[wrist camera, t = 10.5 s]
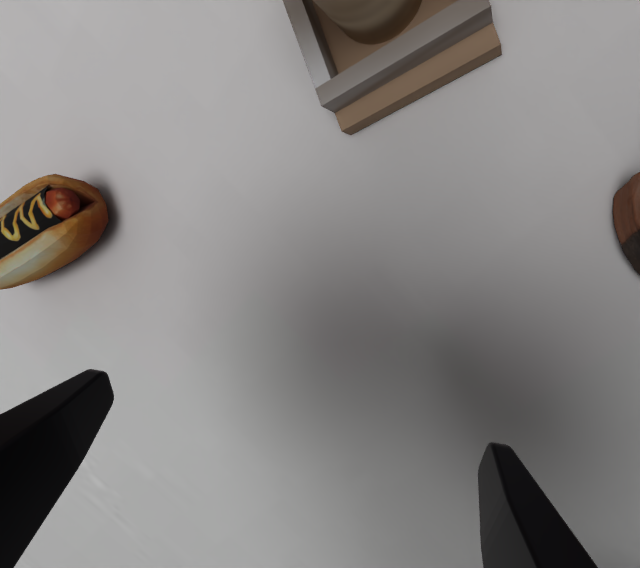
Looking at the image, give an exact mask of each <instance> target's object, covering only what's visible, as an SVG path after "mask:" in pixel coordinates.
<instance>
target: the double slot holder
mask: <svg viewBox="0 0 640 568" xmlns="http://www.w3.org/2000/svg"><path fill="white" fill-rule="evenodd" d="M283 2H284V5H285V8H286V11H287V13H288V16H289V19H290V21H291V24H292V27H293V30H294V32H295V35H296V38H297V41H298V43H299V46H300V49H301V51H302V54H303V57H304V60H305V62H306V65H307V68H308V71H309V73H310V76H311V79H312V82H313V84H314V87H315V90H316V92H317V95H318V98H319V101H320V103H321V106H322V107H324V108H326V109H328V110H330V111H332V112H334V113H335V115H336V117H337V120H338V123H339V126H340V128H341V131H342V132H345V133H347V134H349V135H352V134H354V133H356V132H358V131H359V130H361V129H363V128H365V127H367V126H369V125H371V124H373V123H374V122H376V121H378V120H380V119H382V118H384V117H386V116H387V115H389V114H391V113H393V112H395V111H397V110H399V109H401V108H402V107H404V106H406V105H408V104H410V103H412V102H414V101H416V100H417V99H419V98H421V97H423V96H425V95H427V94H429V93H431V92H432V91H434V90H436V89H438V88H440V87H442V86H444V85H446V84H447V83H449V82H451V81H453V80H455V79H457V78H459V77H460V76H462V75H464V74H466V73H468V72H470V71H472V70H474V69H475V68H477V67H479V66H481V65H483V64H485V63H487V62H489V61H490V60H492V59H494V58H496V57H498V56H500V55H502V52H501V44H500V41H499V38H498V35H497V33H496V30H495V27H494V24H493V20H492V12H491V5H490V2H489V0H422V2H421V5H420V7H419V9H418V12H417V13H416V15H415V17H414V18H413V20H412V21H411V22H410V24H409V25H408V26H407V27H406V28H405V29H404V30H403V31H402V32H401V33H400V34H398V35H397V36H395V37H394V38H392V39H390V40H388V41H386V42H383V43H379V44H373V45H369V44H362V43H359V42H356V41H354V40H353V39H351V38H350V37H349V36H347V35H346V34H345V33H344V32H343V31H342V30H341V29H340V28H339V27H338V26H337V25H336V23H335V22H334V21H333V20H332V19H331V18H330V17H329V16H328V15H327V14H326V13H325V12H324V11H323V10H322V9H321V8H320V7H319V6H318V5H317V4H316V3H315V2H314V1H313V0H283Z"/></svg>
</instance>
